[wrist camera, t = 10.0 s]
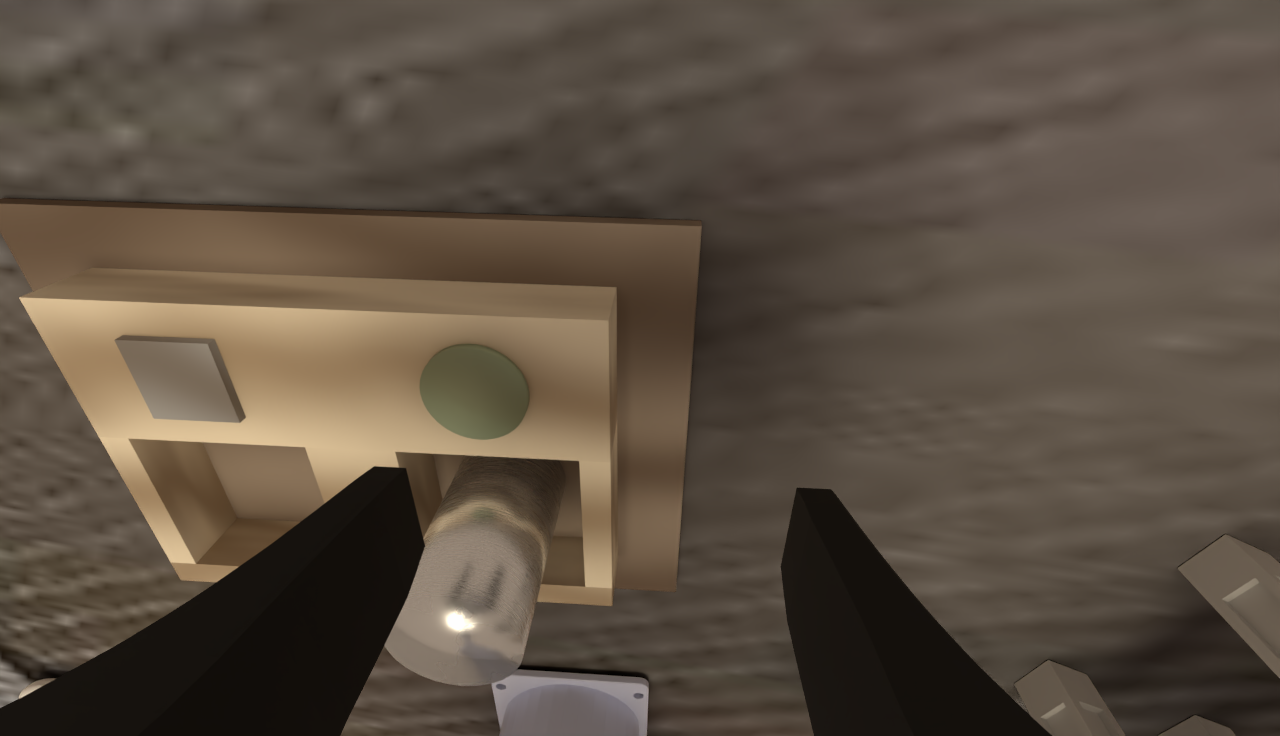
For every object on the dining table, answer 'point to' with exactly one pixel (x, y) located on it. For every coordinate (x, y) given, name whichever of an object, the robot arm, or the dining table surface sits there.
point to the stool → (1238, 590)
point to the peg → (480, 572)
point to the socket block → (373, 365)
